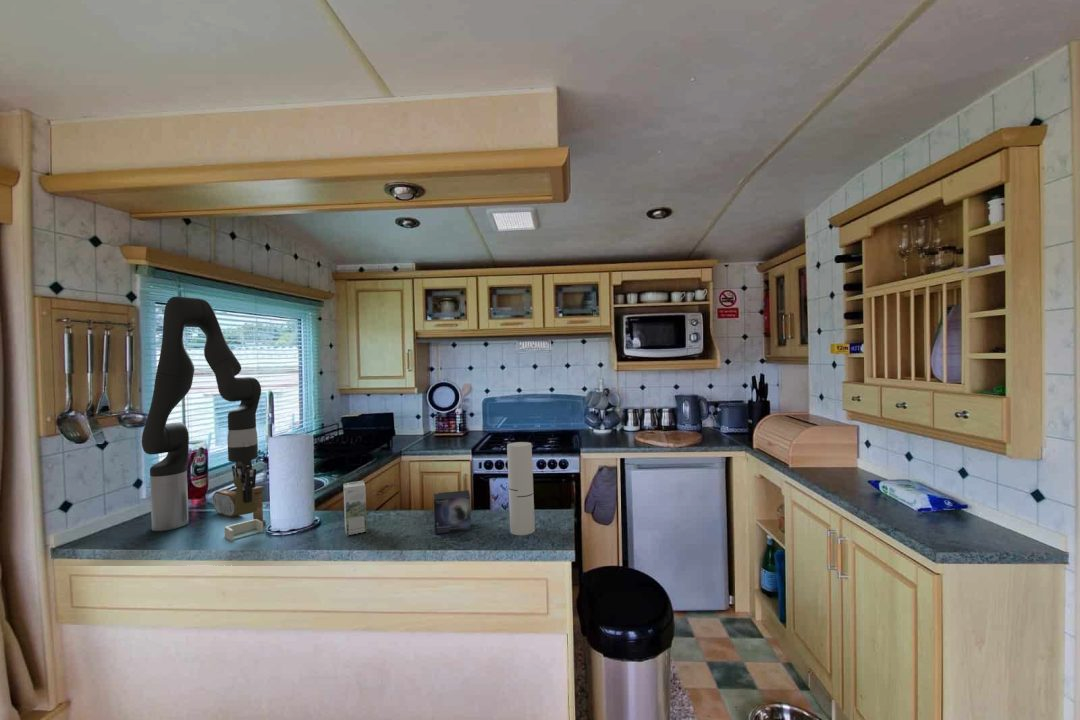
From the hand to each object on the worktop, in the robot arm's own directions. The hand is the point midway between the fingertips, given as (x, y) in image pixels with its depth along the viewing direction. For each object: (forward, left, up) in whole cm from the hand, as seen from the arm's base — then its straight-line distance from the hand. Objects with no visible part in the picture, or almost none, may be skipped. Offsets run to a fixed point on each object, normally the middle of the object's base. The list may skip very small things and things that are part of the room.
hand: (245, 500), depth 135 cm
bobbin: (-7, +5, -10) cm, 14 cm away
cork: (0, 0, -3) cm, 3 cm away
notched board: (-2, 0, -10) cm, 11 cm away
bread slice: (-29, +3, -11) cm, 31 cm away
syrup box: (+25, +21, -11) cm, 35 cm away
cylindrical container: (+66, +50, -11) cm, 84 cm away
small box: (+48, +39, -11) cm, 63 cm away
